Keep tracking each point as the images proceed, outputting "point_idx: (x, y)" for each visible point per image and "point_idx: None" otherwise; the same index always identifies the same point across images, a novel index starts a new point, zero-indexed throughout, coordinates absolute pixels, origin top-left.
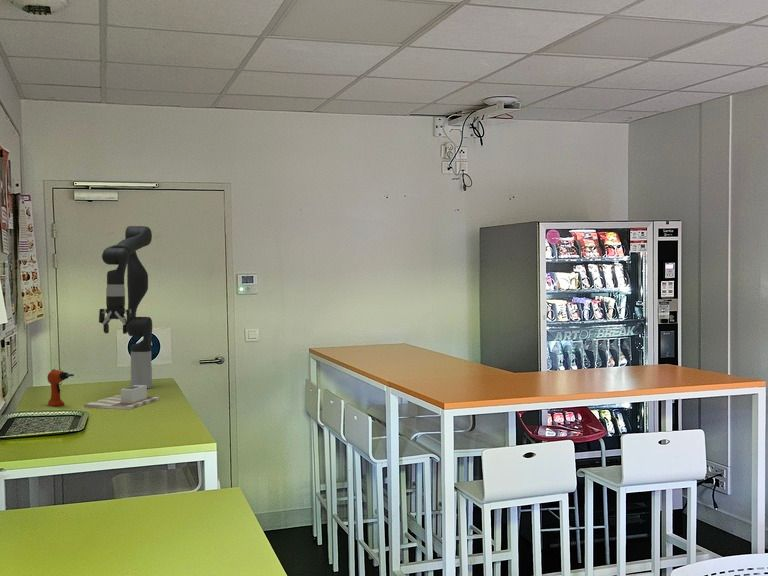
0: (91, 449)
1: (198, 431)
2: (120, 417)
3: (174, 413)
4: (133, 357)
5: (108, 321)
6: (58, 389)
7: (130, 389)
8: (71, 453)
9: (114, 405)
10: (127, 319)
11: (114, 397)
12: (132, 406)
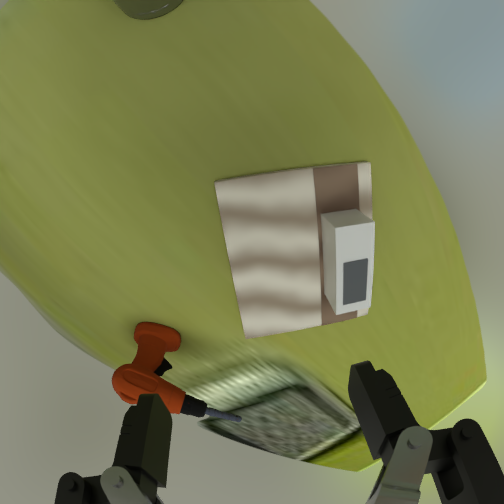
0: None
1: (481, 360)
2: (380, 364)
3: (452, 298)
4: None
5: (144, 501)
6: (163, 366)
7: (364, 305)
8: None
9: (329, 323)
10: (443, 485)
11: (242, 224)
12: None
